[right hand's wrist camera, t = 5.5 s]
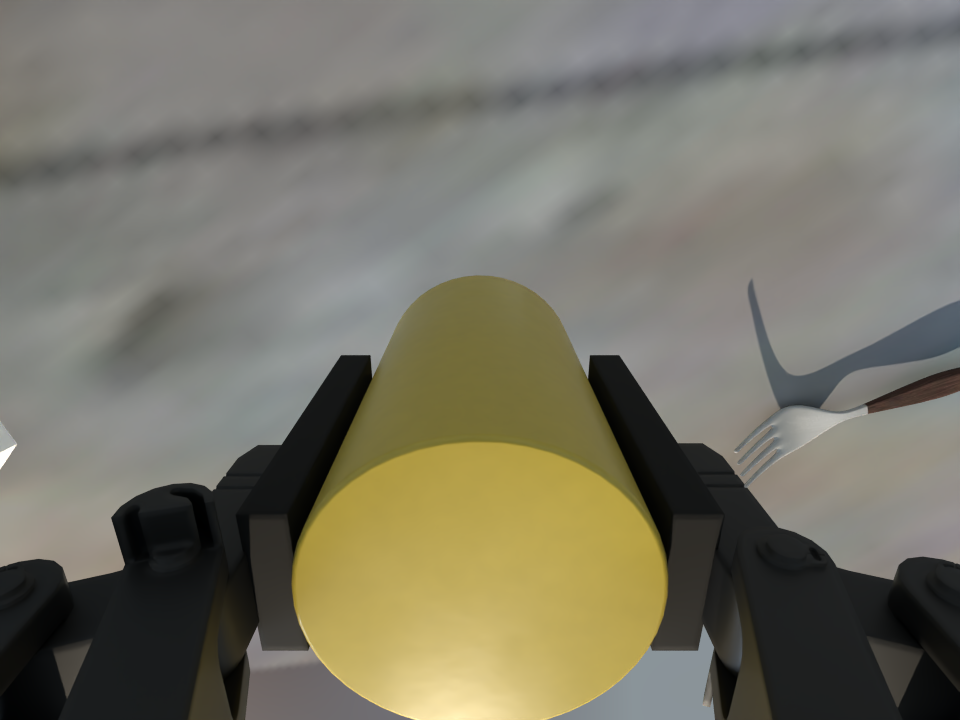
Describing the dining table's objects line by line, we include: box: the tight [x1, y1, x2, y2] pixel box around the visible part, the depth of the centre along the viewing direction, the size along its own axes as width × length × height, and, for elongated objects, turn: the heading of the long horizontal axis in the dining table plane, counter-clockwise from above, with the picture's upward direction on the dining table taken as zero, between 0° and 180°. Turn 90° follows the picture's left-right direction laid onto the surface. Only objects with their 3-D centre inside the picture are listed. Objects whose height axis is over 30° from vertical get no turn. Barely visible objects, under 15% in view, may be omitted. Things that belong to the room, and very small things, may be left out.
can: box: [291, 276, 669, 720], centre depth 13 cm, size 6×6×10 cm
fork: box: [734, 368, 960, 488], centre depth 26 cm, size 3×16×2 cm, turn 111°
